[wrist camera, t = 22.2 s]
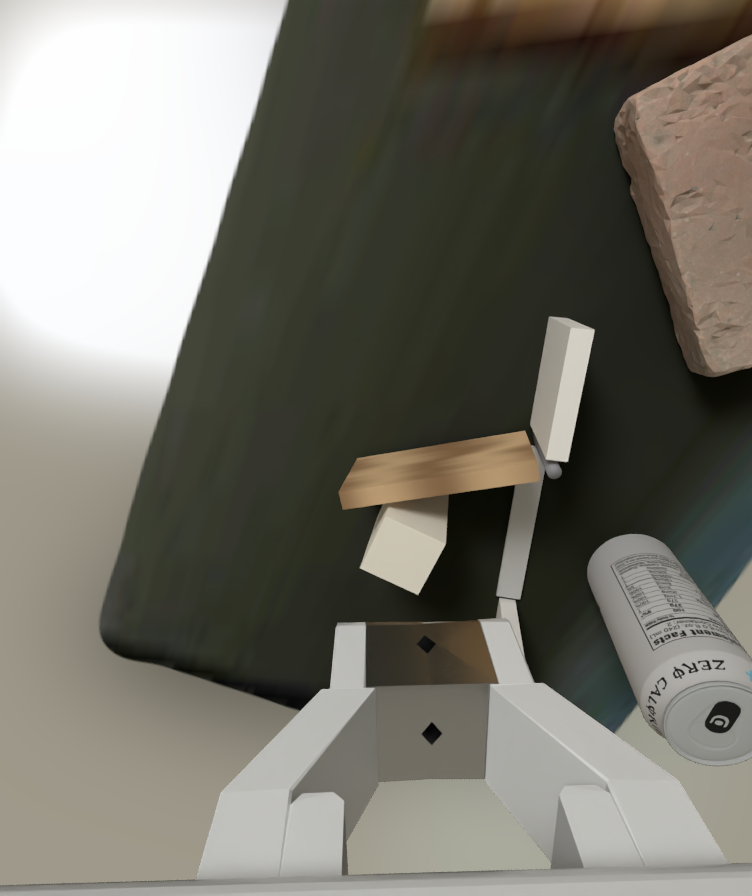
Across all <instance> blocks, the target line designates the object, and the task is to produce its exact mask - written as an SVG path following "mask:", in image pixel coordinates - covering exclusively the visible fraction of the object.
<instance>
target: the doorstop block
mask: <svg viewBox="0 0 752 896" xmlns="http://www.w3.org/2000/svg"><path fill="white" fill-rule="evenodd" d="M448 498H449V494H448V495H441V496H434V497H428V498H422V499H413V500H406V501H399V502H392V503H386V504H383V506H382V508H381V510H380V512H379V514H378V517H377V520H376V522H375V525H374V528H373V531H372V534H371V537H370V540H369V543H368V546H367V549H366V552H365V555H364V558H363V560H362V563H361V566H360V568H361V569H363V570H365V571H367V572H369V573H372V574H374V575H376V576H378V577H380V578H382V579H385V580H387V581H389V582H391V583H393V584H395V585H397V586H400V587H402V588H404V589H406V590H408V591H410V592H413V593H415V594H417V595H418V594H419V592H420V591H421V589H422V587H423V585H424V583H425V581H426V580H427V578H428V576H429V574H430V572H431V570H432V569H433V567H434V565H435V563H436V561H437V559H438V558H439V556H440V554H441V552H442V550H443V548H444V547H445V545H446V534H447V516H448Z"/></svg>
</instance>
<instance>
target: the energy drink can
mask: <svg viewBox="0 0 752 896" xmlns="http://www.w3.org/2000/svg"><path fill="white" fill-rule="evenodd" d="M587 577H588V582H589V584H590V587H591V590H592V592H593V594H594V597H595V599H596V602H597V604H598V607H599V609H600V612H601V614H602V616H603V619H604V621H605V624H606V626H607V629H608V631H609V634H610V636H611V638H612V641H613V643H614V646H615V648H616V651H617V653H618V656H619V658H620V661H621V663H622V665H623V668H624V670H625V673H626V675H627V678H628V680H629V683H630V685H631V687H632V690H633V692H634V695H635V697H636V700H637V702H638V705H639V707H640V709H641V712H642V714H643V717H644V719H645V720H646V722H647V723H648V724H649V726H650V727H651V728H652V729H653V730H654V731H656V732H657V733H658V734H659V735H660V736H662V737H663V738H665V739H666V740H667V741H668V743H669V744H670V746H671V747H672V748H673V749H674V750H675V751H676V752H677V753H678V754H680V755H681V756H683V757H684V758H686V759H688V760H690V761H693V762H695V763H699V764H704V765H709V766H728V765H733V764H738V763H741V762H743V761H746V760H748V759H750V758H752V659H751V657H750V656H749V655H748V653H747V652H746V651H745V649H744V648H743V647H742V646H741V644H740V643H739V641H738V640H737V639H736V637H735V636H734V635H733V633H732V632H731V631H730V630H729V628H728V627H727V625H726V624H725V623H724V621H723V620H722V619H721V617H720V616H719V615H718V613H717V612H716V611H715V609H714V608H713V607H712V605H711V604H710V603H709V601H708V600H707V599H706V597H705V596H704V595H703V593H702V592H701V591H700V589H699V588H698V587H697V585H696V584H695V583H694V581H693V580H692V579H691V577H690V576H689V575H688V573H687V572H686V571H685V569H684V568H683V567H682V565H681V564H680V563H679V561H678V560H677V559H676V557H675V556H674V555H673V553H672V552H671V551H670V549H669V548H668V547H667V546H666V545H665V544H664V543H662V542H660V541H659V540H657V539H655V538H653V537H650V536H646V535H641V534H628V535H622V536H618V537H615V538H612V539H610V540H608V541H607V542H605V543H604V544H603V545H601V546H600V547H599V548H598V549H597V550H596V551H595V552H594V554H593V555H592V557H591V559H590V561H589V564H588V570H587Z"/></svg>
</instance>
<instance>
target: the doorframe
mask: <svg viewBox="0 0 752 896" xmlns="http://www.w3.org/2000/svg"><path fill="white" fill-rule="evenodd" d="M594 331H595V330H594V329H591V328H589V327H587V326H584V325H582V324H580V323H578V322H575V321H573V320H571V319H568V318H559V317H549V320H548V326H547V331H546V337H545V343H544V348H543V354H542V360H541V365H540V371H539V377H538V382H537V388H536V394H535V399H534V405H533V411H532V416H531V422H530V425H531V427H532V430H533V432H532V434H531V437H532V439H533V442H534V444H535V446H532V445H531V447H532V450H533V452H534V455H535V457H536V460H537V463H538V470H539V477H540V481H537V482H530V483H523V484H517V485H515V488H514V494H513V500H512V505H511V511H510V517H509V523H508V528H507V534H506V540H505V546H504V552H503V557H502V563H501V569H500V575H499V580H498V586H497V592H496V596H500V597H507V598H513V599H520V598H521V593H522V588H523V582H524V577H525V572H526V567H527V561H528V556H529V551H530V546H531V540H532V535H533V530H534V525H535V519H536V514H537V509H538V504H539V499H540V493H541V488H542V483H543V478H544V472H545V470H546V472H547V475H548V476H549V477H550V478H551V479H557V478H559V477H560V476H561V474H562V470H561V468H560V466H559V464H558V462H557V461H563V462H568V458H569V453H570V449H571V444H572V439H573V434H574V429H575V424H576V419H577V414H578V409H579V404H580V399H581V395H582V390H583V385H584V380H585V375H586V370H587V365H588V360H589V355H590V350H591V346H592V341H593V336H594ZM496 618H506V619H508V620H509V621H510V623H511V626H512V628H513V631H514V633H515V636H516V638H517V641H518V643H519V646H520V648H521V651H522V653H523V655H524V651H523V645H522V638H521V632H520V626H519V620H518V614H517V608H516V602H515V600H511V599H505V598H499V603H498V609H497V615H496ZM524 658H525V657H524Z"/></svg>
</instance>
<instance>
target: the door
mask: <svg viewBox="0 0 752 896" xmlns="http://www.w3.org/2000/svg"><path fill="white" fill-rule="evenodd" d="M537 481H540V477H539V470H538V463H537V460H536V457H535V455H534V452H533V450H532V447H531V445H530V442H529V440H528V437H527V435H526V432H525V431H520V432H514V433H508V434H502V435H496V436H490V437H484V438H478V439H472V440H466V441H459V442H453V443H447V444H441V445H435V446H429V447H423V448H417V449H411V450H405V451H399V452H393V453H386V454H380V455H374V456H368V457H362V458H357V460H356V462H355V464H354V465H353V467H352V469H351V471H350V472H349V474H348V476H347V478H346V480H345V481H344V483H343V485H342V487H341V489H340V490H339V496H340V500H341V504H342V508H343V510H344V509H351V508H358V507H365V506H372V505H379V504H386V503H392V502H399V501H406V500H413V499H422V498H428V497H434V496H441V495H448V494H455V493H461V492H468V491H475V490H482V489H489V488H496V487H503V486H510V485H517V484H523V483H530V482H537Z"/></svg>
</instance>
